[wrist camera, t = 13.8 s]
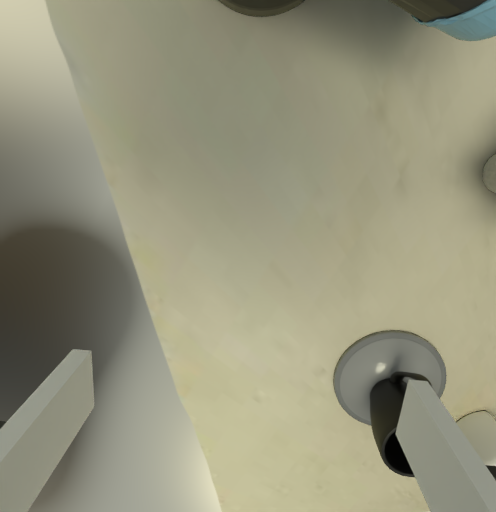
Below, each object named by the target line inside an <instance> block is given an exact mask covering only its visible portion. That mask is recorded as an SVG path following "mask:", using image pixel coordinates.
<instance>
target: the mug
mask: <svg viewBox="0 0 496 512" xmlns="http://www.w3.org/2000/svg"><path fill="white" fill-rule="evenodd" d="M405 377H409V378H412V379H414V380H419V381H428V383H429V384H430V386H431V387H432V385H431V383H430V381H429V380H428V379H427V378H426V377H425V376H423V375H421V374H417V373H411V372H403V371H397V372H394V373H393V374H392V375H391V377H390V378H388V379H384V380H381V381H379V382H378V383H376V384H375V385H374V387H373V388H372V390H371V392H370V418H371V425H372V430H373V435H374V438H375V441H376V444H377V447H378V449H379V452H380V455H381V457H382V459H383V461H384V463H385V464H386V465H387V466H388V467H389V469H391V470H392V471H394V472H395V473H397V474H400V475H403V476H408V477H415V476H414V474H413V471H412V469H411V467H410V465H409V463H408V460H407V458H406V456H405V454H404V452H403V449H402V447H401V445H400V443H399V441H398V438H397V436H396V434H395V433H396V429H397V425H398V421H399V417H400V413H401V409H402V405H403V401H404V397H405V393H406V388H407V383H405V382H404V381H402V380H403V379H404V378H405Z"/></svg>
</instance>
